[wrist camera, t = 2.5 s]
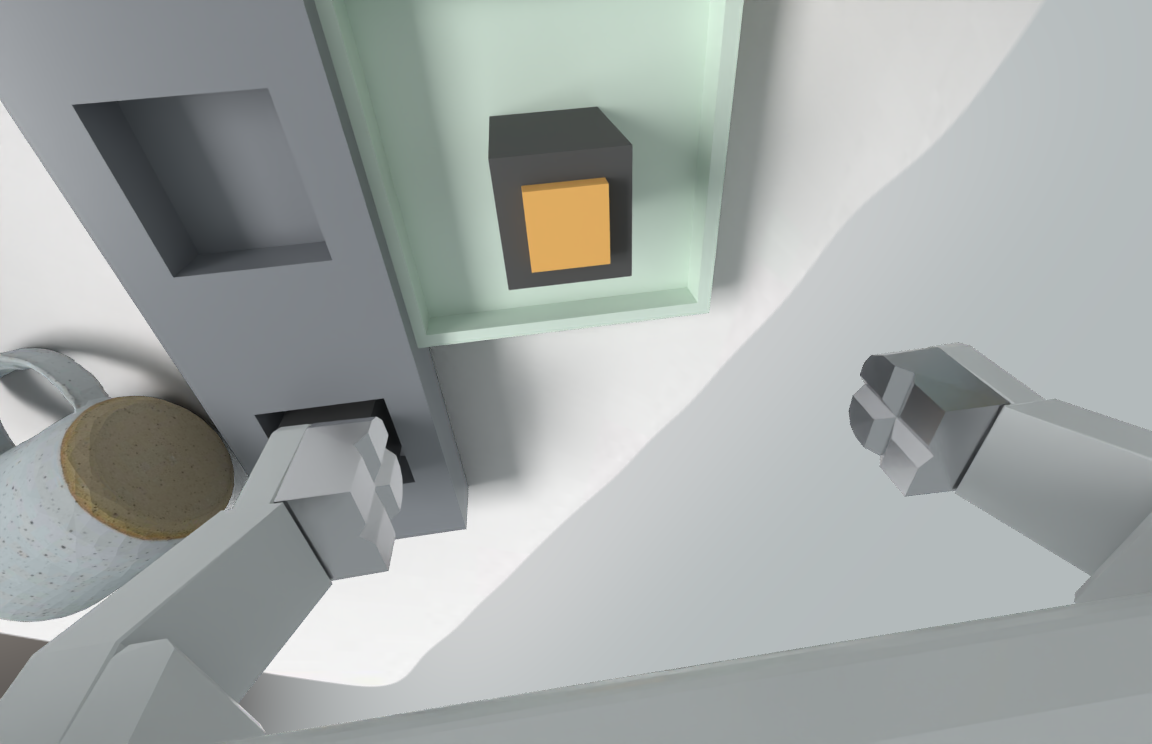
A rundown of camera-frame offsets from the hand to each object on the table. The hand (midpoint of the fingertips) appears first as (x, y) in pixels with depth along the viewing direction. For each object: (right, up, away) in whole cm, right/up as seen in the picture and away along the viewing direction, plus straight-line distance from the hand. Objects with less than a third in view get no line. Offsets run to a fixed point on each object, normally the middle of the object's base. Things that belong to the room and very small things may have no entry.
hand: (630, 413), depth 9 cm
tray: (-2, +9, +12) cm, 15 cm away
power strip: (-13, +6, +12) cm, 19 cm away
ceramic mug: (-23, -2, +17) cm, 29 cm away
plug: (-2, +9, +11) cm, 14 cm away
